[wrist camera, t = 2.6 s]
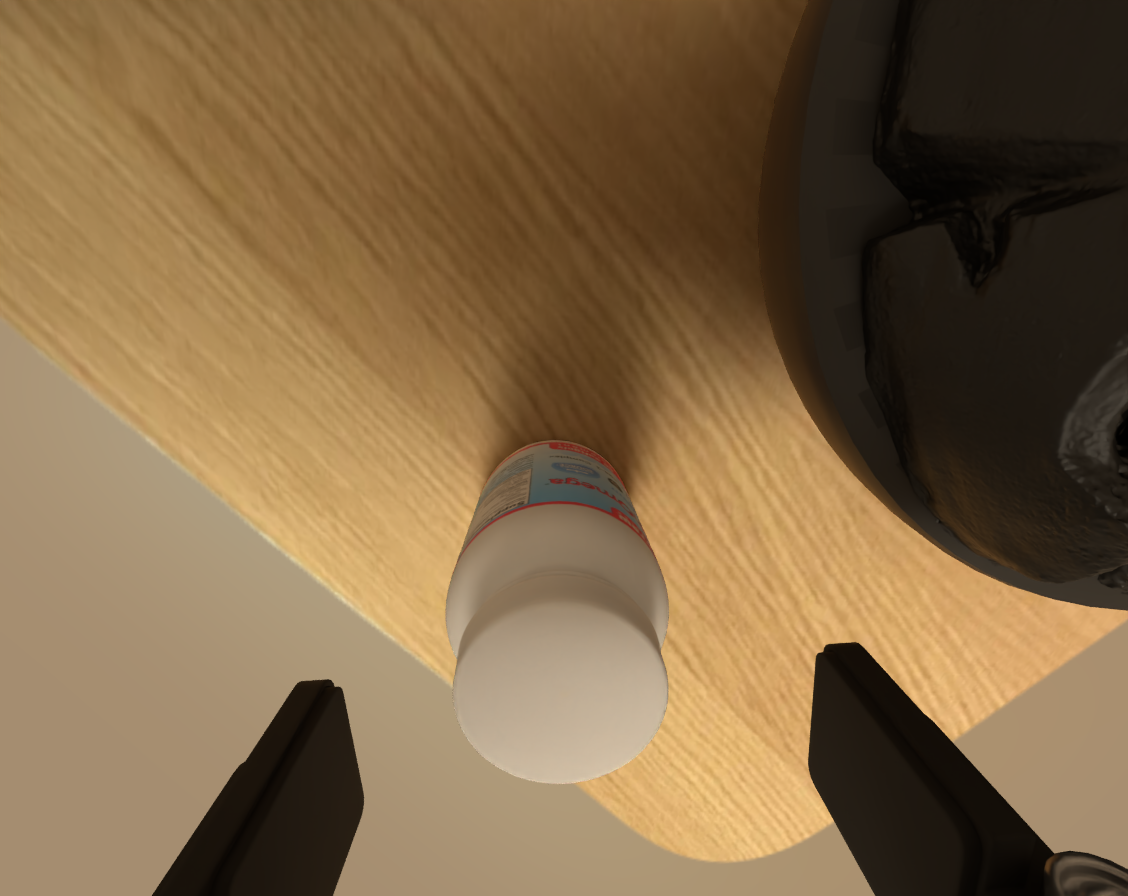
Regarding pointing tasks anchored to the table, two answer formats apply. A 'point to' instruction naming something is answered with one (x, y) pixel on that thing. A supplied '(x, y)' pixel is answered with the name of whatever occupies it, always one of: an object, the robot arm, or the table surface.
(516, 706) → the pill bottle
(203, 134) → the table surface
